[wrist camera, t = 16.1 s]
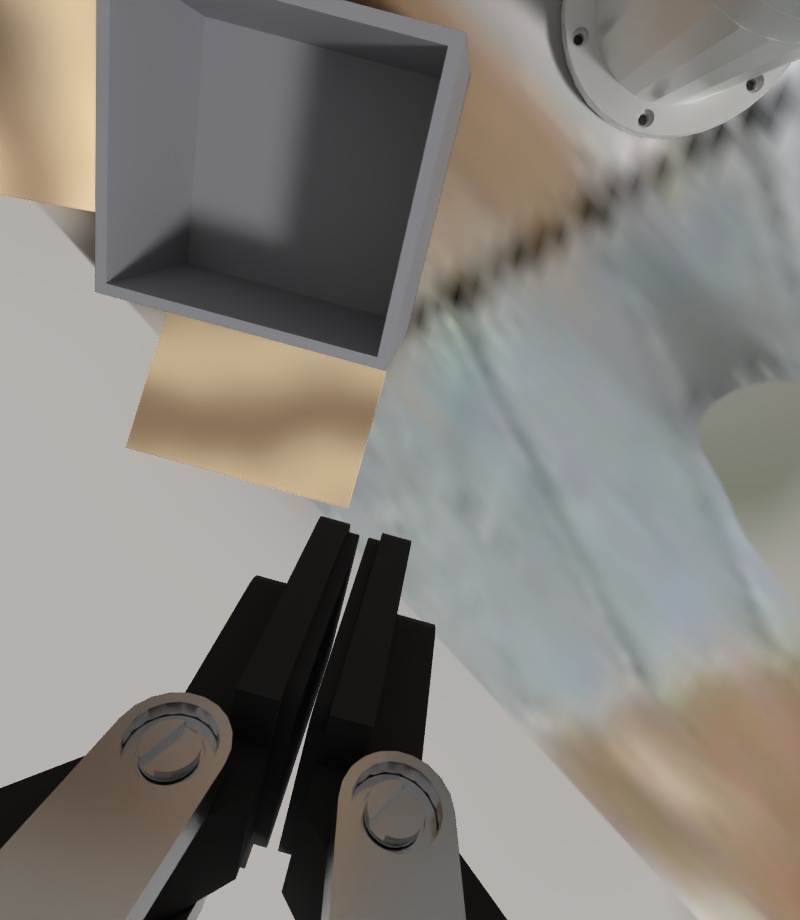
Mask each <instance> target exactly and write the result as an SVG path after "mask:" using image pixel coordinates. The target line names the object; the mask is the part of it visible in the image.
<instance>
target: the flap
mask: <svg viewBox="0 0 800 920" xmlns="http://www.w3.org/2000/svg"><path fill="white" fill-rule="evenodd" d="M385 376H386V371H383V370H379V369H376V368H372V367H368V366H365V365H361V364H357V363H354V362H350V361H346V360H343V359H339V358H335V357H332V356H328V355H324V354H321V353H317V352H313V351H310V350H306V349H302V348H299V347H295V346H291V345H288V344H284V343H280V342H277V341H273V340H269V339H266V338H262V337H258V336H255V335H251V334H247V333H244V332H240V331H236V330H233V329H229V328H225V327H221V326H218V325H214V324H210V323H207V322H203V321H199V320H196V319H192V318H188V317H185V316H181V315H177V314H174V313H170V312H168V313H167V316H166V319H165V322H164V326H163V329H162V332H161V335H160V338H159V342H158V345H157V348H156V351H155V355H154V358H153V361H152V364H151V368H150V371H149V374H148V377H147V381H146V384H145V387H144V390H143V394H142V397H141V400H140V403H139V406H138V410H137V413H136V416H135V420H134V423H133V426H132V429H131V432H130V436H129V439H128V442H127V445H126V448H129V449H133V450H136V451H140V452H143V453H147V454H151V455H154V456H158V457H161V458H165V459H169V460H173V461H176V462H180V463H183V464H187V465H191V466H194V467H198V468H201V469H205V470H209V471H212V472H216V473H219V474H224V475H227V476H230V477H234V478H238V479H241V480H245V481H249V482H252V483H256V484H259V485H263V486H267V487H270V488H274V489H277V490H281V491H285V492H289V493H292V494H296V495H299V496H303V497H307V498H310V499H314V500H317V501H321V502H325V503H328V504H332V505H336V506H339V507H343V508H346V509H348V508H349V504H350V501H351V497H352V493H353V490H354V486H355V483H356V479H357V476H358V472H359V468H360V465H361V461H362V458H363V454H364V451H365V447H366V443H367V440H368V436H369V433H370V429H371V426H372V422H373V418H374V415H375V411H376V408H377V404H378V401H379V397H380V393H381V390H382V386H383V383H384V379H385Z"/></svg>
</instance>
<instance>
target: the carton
mask: <svg viewBox="0 0 800 920" xmlns="http://www.w3.org/2000/svg"><path fill="white" fill-rule="evenodd" d="M469 79H470V68H469V57H468V47H467V37H466V32H462V31H459V30H455V29H451V28H447V27H444V26H440V25H436V24H432V23H428V22H425V21H421V20H417V19H413V18H409V17H406V16H402V15H398V14H394V13H390V12H387V11H383V10H379V9H375V8H372V7H368V6H364V5H360V4H356V3H353V2H349V1H345V0H97V15H96V205H95V292H98V293H101V294H105V295H109V296H112V297H116V298H120V299H123V300H127V301H130V302H134V303H138V304H141V305H145V306H149V307H152V308H156V309H160V310H163V311H167V312H171V313H174V314H178V315H182V316H186V317H189V318H193V319H197V320H200V321H204V322H208V323H211V324H215V325H219V326H222V327H226V328H230V329H233V330H237V331H241V332H244V333H248V334H252V335H255V336H259V337H263V338H266V339H270V340H274V341H277V342H281V343H285V344H288V345H292V346H296V347H299V348H303V349H307V350H310V351H314V352H318V353H321V354H325V355H329V356H332V357H336V358H340V359H343V360H347V361H351V362H354V363H358V364H362V365H366V366H369V367H373V368H377V369H380V370H384V371H386V370H387V368H388V366H389V364H390V362H391V360H392V358H393V357H394V355H395V353H396V351H397V349H398V347H399V345H400V343H401V342H402V340H403V338H404V336H405V334H406V332H407V330H408V326H409V322H410V318H411V314H412V310H413V306H414V302H415V298H416V294H417V290H418V286H419V282H420V278H421V274H422V270H423V266H424V261H425V257H426V253H427V249H428V245H429V241H430V237H431V233H432V229H433V225H434V221H435V217H436V213H437V209H438V205H439V201H440V197H441V192H442V188H443V184H444V180H445V176H446V172H447V168H448V164H449V160H450V156H451V152H452V148H453V144H454V140H455V136H456V132H457V128H458V123H459V119H460V115H461V111H462V107H463V103H464V99H465V95H466V91H467V87H468V83H469Z"/></svg>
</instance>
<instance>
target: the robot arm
mask: <svg viewBox="0 0 800 920" xmlns="http://www.w3.org/2000/svg"><path fill="white" fill-rule="evenodd" d="M561 25H562V43H563V48H564V53H565V58H566V63H567V66H568V69H569V71H570V74H571V76H572V79H573V81H574V84H575V86H576V88H577V89H578V91H579V92H580V94H581V95H582V97H583V98H584V100H585V101H586V103H587V104H588V106H590V107H591V108H592V109H593V110H594V111H595V112H596V113H597V114H598V115H599V116H600V117H601V118H602V119H603V120H604V121H606V122H608V123H609V124H611V125H613V126H614V127H616V128H618V129H619V130H621V131H624V132H627V133H630V134H633V135H636V136H639V137H644V138H655V139H669V138H678V137H686V136H689V135H692V134H697V133H701V132H703V131H706V130H708V129H711V128H713V127H716V126H718V125H720V124H723V123H725V122H727V121H728V120H730V119H731V118H733V117H735V116H736V115H738V114H739V113H741V112H743V111H744V110H746V109H747V108H749V107H750V106H751V105H752V104H753V103H755V102H756V101H757V100H758V99H759V98H761V97H762V96H763V95H764V94H765V93H766V92H767V91H768V90H769V89H770V88H771V87H772V85H773V84H774V83H775V82H776V81H777V80H778V78H779V77H780V76H781V75H782V74H783V73H784V72H785V70H786V69H787V68H788V66H789V65H790V63H791V62H794V61H796V60H799V59H800V0H563V3H562V11H561ZM576 35H580V36H581V37H582V39H583V40H582V44H580V45H576V44H574V37H575V36H576ZM748 80H750V81H752V83H753V86H752V88H751V90H747V88H746V83H747V81H748ZM640 115H644V116H646V123H645V124H644V125H641V124H639V122H638V119H639V117H640ZM349 530H350V524H348V523H344V522H341V521H337V520H333V519H330V518H326V517H323V516H322V517H320V518H319V520H318V522H317V524H316V526H315V528H314V530H313V532H312V534H311V536H310V539H309V540H308V542H307V544H306V546H305V548H304V550H303V552H302V554H301V556H300V558H299V560H298V562H297V564H296V567H295V569H294V571H293V572H292V575H291V576H290V579H289V581H288V583H287V584H286V583H283V582H279V581H275V580H272V579H268V578H264V577H261V576H255V577H254V578H253V580H252V581H251V582H250V584H249V586H248V587H247V589H246V591H245V592H244V594H243V596H242V598H241V599H240V601H239V602H238V604H237V606H236V608H235V609H234V611H233V613H232V614H231V616H230V618H229V619H228V621H227V623H226V625H225V626H224V628H223V630H222V631H221V633H220V635H219V636H218V638H217V640H216V641H215V643H214V645H213V646H212V648H211V650H210V652H209V653H208V655H207V657H206V658H205V660H204V662H203V663H202V665H201V667H200V668H199V670H198V672H197V674H196V675H195V677H194V679H193V680H192V682H191V684H190V685H189V687H188V689H187V690H186V692H185V693H166V694H162V695H158V696H154V697H151V698H149V699H147V700H145V701H143V702H140V703H138V704H137V705H135V706H133V707H132V708H131V709H130V710H129V711H127V712H126V713H125V714H124V715H123V716H121V717H120V718H119V719H118V720H117V722H116V723H115V724H114V725H113V726H112V727H111V728H110V729H109V730H108V732H107V733H106V734H105V735H104V736H103V737H102V738H101V739H100V740H99V741H98V742H97V744H96V745H95V746H94V747H93V748H92V749H91V750H90V751H89V753H88V754H87V755H86V756H83V757H81V758H78V759H75V760H73V761H70V762H67V763H65V764H62V765H60V766H57V767H54V768H52V769H49V770H47V771H44V772H42V773H39V774H36V775H34V776H31V777H28V778H26V779H23V780H21V781H18V782H15V783H13V784H10V785H8V786H5V787H2V788H0V920H196V919H197V917H198V915H199V913H200V911H201V910H202V907H203V904H204V901H205V899H206V897H207V895H209V894H210V893H212V892H214V891H216V890H217V889H219V888H221V887H223V886H224V885H226V884H227V883H229V882H231V881H233V880H234V879H236V876H237V873H238V871H239V868H240V867H242V868H245V866H246V863H247V860H248V858H249V855H250V852H251V849H252V846H253V844H256V845H259V846H263V847H267V845H268V842H269V839H270V837H271V833H272V830H273V827H274V824H275V821H276V818H277V815H278V812H279V809H280V806H281V803H282V800H283V797H284V794H285V791H286V788H287V785H288V782H289V779H290V775H291V773H292V769H293V766H294V763H295V760H296V757H297V754H298V751H299V748H300V745H301V742H302V738H303V736H304V733H305V729H306V727H307V724H308V720H309V717H310V714H311V711H312V708H313V705H314V702H315V699H316V702H315V705H314V708H313V712H312V715H311V719H310V723H309V727H308V731H307V735H306V739H305V743H304V747H303V751H302V756H301V759H300V763H299V767H298V771H297V775H296V780H295V784H294V788H293V792H292V796H291V800H290V804H289V808H288V812H287V817H286V820H285V824H284V829H283V833H282V837H281V841H280V845H279V849H278V851H280V852H284V853H287V854H291V859H290V863H289V867H288V871H287V874H286V878H285V882H284V886H283V889H282V893H283V896H284V898H285V900H286V902H287V904H288V906H289V908H290V910H291V912H292V914H293V916H294V918H295V920H507V919H506V917H505V916H504V915H503V914H502V912H501V911H500V909H499V908H498V906H497V905H496V904H495V902H494V901H493V900H492V898H491V897H490V895H489V894H488V892H487V891H486V890H485V888H484V887H483V885H482V884H481V883H480V881H479V880H478V878H477V877H476V876H475V874H474V873H473V872H472V870H471V869H470V867H469V866H468V864H467V863H466V862H465V861H464V859H463V858H462V856H461V855H460V853H459V847H458V838H457V828H456V819H455V811H454V807H453V803H452V799H451V795H450V793H449V791H448V790H447V788H446V786H445V784H444V782H443V781H442V779H441V778H440V776H439V775H438V774H437V773H435V771H434V770H433V769H432V768H431V767H430V766H429V765H427V764H426V763H424V762H422V754H423V744H424V735H425V725H426V716H427V706H428V696H429V687H430V678H431V668H432V659H433V649H434V640H435V625H434V624H430V623H427V622H423V621H419V620H416V619H412V618H409V617H405V616H401V615H398V614H397V611H398V606H399V601H400V596H401V591H402V586H403V581H404V576H405V571H406V566H407V561H408V556H409V551H410V546H411V541H409V540H406V539H402V538H399V537H395V536H391V535H388V534H384V533H382V536H381V540H380V541H379V540H375V539H372V538H368V541H367V544H366V547H365V550H364V553H363V557H362V560H361V563H360V566H359V569H358V572H357V575H356V578H355V581H354V584H353V588H352V590H351V593H350V597H349V599H348V603H347V606H346V609H345V612H344V615H343V618H342V621H341V624H340V627H339V630H338V633H337V636H336V639H335V642H334V645H333V641H334V637H335V633H336V628H337V624H338V620H339V617H340V613H341V609H342V605H343V601H344V597H345V593H346V589H347V584H348V581H349V576H350V572H351V568H352V564H353V560H354V556H355V552H356V548H357V544H358V540H359V535H357V534H354V533H350V532H349ZM332 645H333V648H332ZM331 649H332V652H331ZM330 652H331V655H330ZM329 656H330V658H329ZM328 659H329V661H328ZM327 662H328V664H327ZM326 666H327V667H326ZM325 668H326V670H325ZM324 672H325V673H324ZM323 675H324V676H323ZM322 678H323V679H322ZM321 681H322V682H321ZM320 684H321V685H320ZM319 687H320V688H319ZM318 690H319V691H318ZM317 693H318V695H317ZM316 696H317V698H316Z"/></svg>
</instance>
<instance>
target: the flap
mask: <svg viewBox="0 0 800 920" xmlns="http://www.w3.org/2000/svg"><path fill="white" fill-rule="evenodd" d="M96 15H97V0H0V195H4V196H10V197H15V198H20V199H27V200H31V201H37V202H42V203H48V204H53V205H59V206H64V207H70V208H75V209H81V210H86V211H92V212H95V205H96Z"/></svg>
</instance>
